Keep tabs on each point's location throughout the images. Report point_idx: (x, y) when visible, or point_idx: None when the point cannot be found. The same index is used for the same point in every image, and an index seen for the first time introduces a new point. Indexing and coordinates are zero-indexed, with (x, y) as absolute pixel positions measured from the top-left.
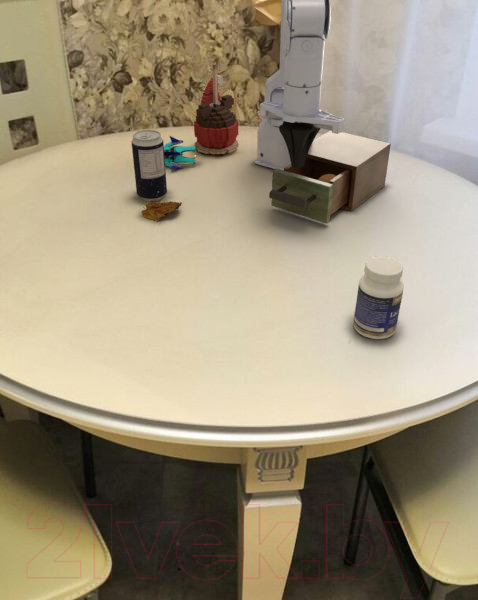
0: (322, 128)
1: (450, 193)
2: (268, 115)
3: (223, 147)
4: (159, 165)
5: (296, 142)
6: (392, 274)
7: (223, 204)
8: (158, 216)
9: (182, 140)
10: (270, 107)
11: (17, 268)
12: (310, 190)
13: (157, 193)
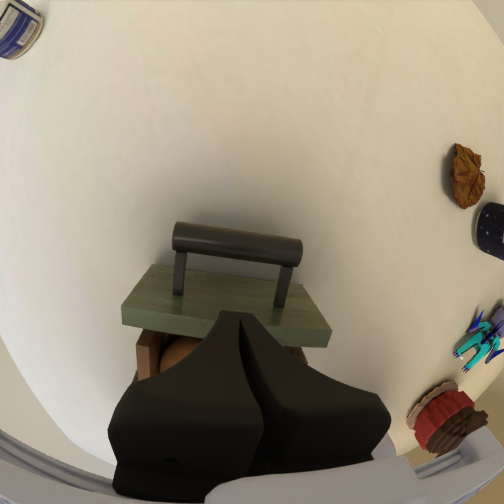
0: (53, 458)
1: (76, 428)
2: (453, 451)
3: (426, 405)
4: None
5: (225, 370)
6: None
7: (394, 256)
8: (460, 160)
9: (486, 363)
10: (483, 482)
11: (476, 12)
12: (191, 302)
13: (486, 213)
